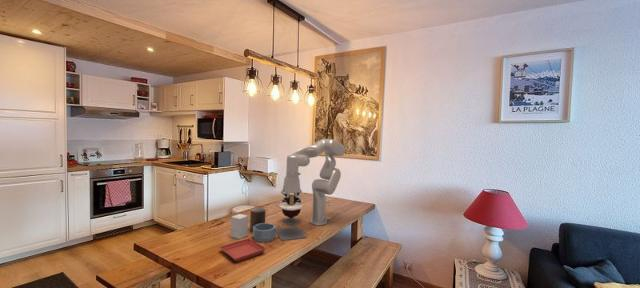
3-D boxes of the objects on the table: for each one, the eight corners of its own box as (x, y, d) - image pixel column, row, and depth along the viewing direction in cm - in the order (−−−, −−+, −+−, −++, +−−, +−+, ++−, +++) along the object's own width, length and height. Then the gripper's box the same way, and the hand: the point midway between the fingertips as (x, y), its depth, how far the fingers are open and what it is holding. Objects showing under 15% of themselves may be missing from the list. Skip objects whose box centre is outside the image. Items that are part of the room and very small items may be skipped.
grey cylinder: (261, 233, 170) (262, 210, 169) (247, 232, 172) (247, 208, 171) (267, 228, 179) (268, 206, 179) (253, 227, 181) (254, 205, 181)
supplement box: (248, 235, 166) (248, 215, 165) (238, 239, 160) (239, 218, 159) (239, 233, 170) (240, 213, 169) (230, 236, 163) (230, 216, 163)
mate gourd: (303, 224, 189) (304, 196, 188) (283, 226, 184) (284, 197, 183) (296, 217, 204) (297, 191, 203) (278, 219, 198) (279, 192, 197)
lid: (298, 204, 180) (299, 192, 179) (305, 210, 166) (306, 197, 166) (276, 205, 174) (277, 193, 174) (282, 212, 160) (282, 199, 160)
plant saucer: (218, 252, 143) (219, 246, 143) (249, 243, 156) (249, 237, 156) (234, 265, 131) (235, 258, 130) (266, 254, 143) (266, 248, 143)
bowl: (272, 233, 172) (272, 222, 171) (276, 241, 159) (277, 229, 159) (251, 235, 167) (252, 224, 167) (254, 243, 155) (254, 231, 154)
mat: (297, 226, 184) (297, 225, 184) (306, 238, 166) (306, 237, 166) (274, 229, 179) (274, 228, 179) (281, 241, 160) (281, 240, 160)
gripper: (302, 173, 176) (301, 201, 177) (278, 174, 170) (277, 202, 171) (306, 175, 169) (305, 204, 170) (280, 176, 163) (279, 205, 164)
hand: (291, 203), depth 170 cm, fingers closed on lid, 3 cm apart
